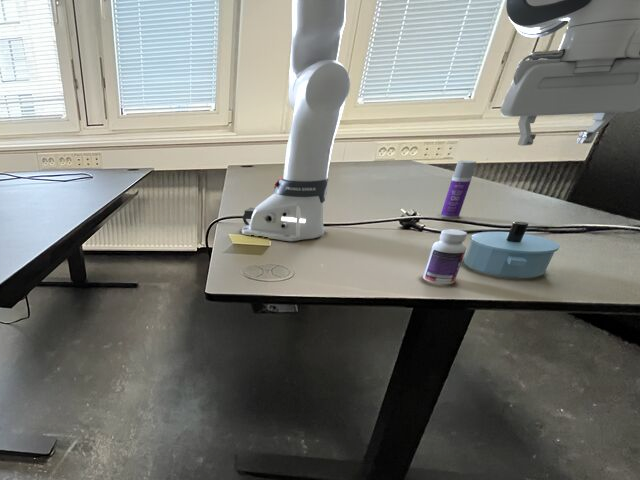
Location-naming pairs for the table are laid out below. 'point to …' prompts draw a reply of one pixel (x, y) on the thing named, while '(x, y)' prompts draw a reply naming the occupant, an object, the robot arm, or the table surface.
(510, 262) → the pan
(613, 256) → the table surface
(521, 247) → the pan lid
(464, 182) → the container
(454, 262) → the pill bottle
